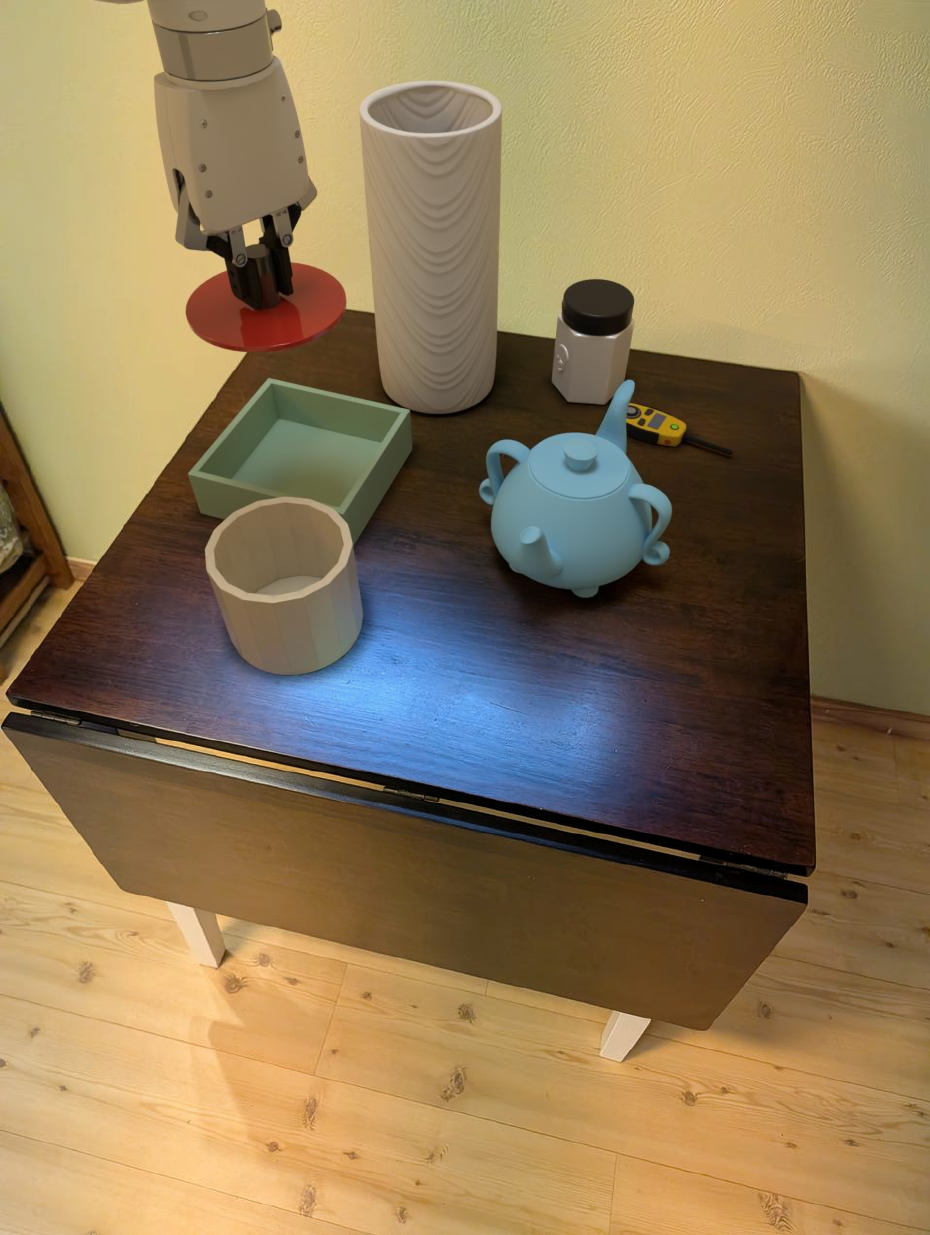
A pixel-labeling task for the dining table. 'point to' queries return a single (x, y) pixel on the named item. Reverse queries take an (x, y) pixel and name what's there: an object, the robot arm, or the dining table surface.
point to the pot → (286, 584)
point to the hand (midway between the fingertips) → (264, 294)
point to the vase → (434, 239)
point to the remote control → (660, 428)
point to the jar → (593, 341)
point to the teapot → (576, 506)
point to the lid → (267, 308)
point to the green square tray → (305, 453)
